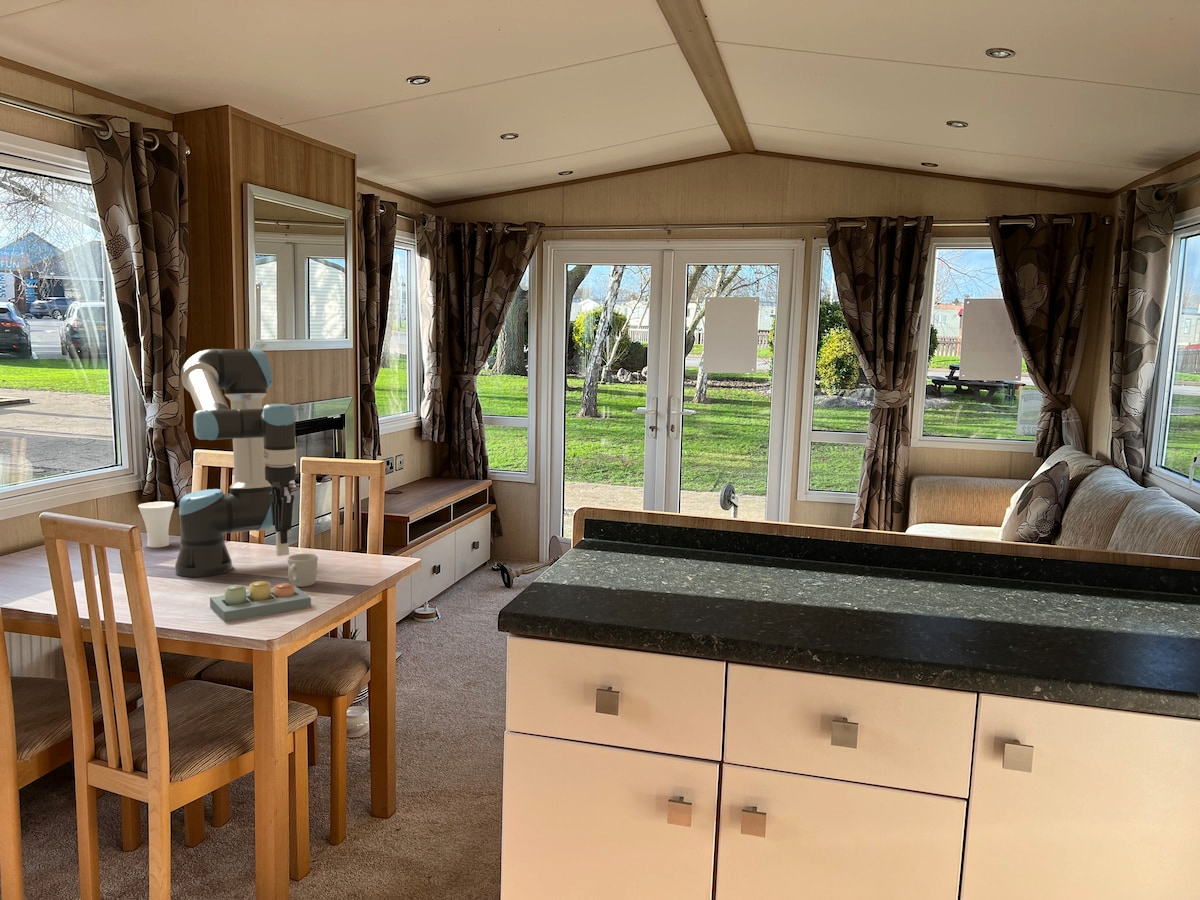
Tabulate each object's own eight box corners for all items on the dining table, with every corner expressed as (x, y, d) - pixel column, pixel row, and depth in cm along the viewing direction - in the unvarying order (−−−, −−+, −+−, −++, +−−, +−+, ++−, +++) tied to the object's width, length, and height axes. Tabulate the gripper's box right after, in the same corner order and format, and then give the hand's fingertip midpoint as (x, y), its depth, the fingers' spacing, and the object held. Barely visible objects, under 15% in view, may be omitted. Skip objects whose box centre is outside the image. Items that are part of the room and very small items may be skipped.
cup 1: (132, 548, 280) (130, 506, 278) (154, 540, 290) (152, 500, 288) (162, 550, 278) (160, 508, 276) (183, 542, 288) (181, 502, 286)
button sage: (222, 602, 220) (222, 586, 219) (243, 598, 223) (242, 583, 222) (228, 607, 216) (227, 591, 216) (248, 603, 219) (248, 587, 219)
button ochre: (247, 598, 224) (246, 582, 223) (267, 594, 227) (267, 579, 226) (253, 603, 220) (252, 587, 219) (273, 599, 223) (272, 584, 222)
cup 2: (303, 592, 236) (302, 564, 235) (276, 590, 238) (275, 562, 237) (323, 581, 247) (322, 554, 246) (298, 579, 248) (297, 552, 247)
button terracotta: (271, 599, 227) (271, 584, 227) (290, 596, 230) (290, 581, 230) (277, 604, 223) (277, 589, 223) (297, 601, 226) (296, 586, 226)
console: (210, 607, 223) (209, 597, 222) (293, 593, 235) (292, 584, 235) (224, 622, 212) (224, 611, 211) (310, 607, 224) (310, 597, 224)
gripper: (257, 462, 225) (260, 551, 228) (273, 469, 215) (275, 562, 218) (287, 460, 230) (289, 547, 233) (303, 467, 219) (305, 558, 223)
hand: (282, 554), depth 226 cm, fingers closed
